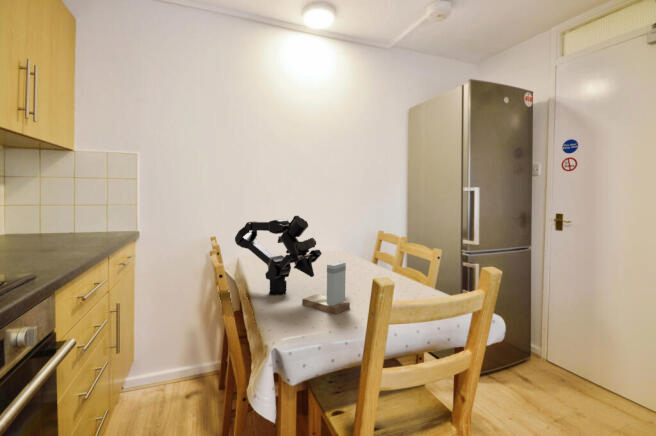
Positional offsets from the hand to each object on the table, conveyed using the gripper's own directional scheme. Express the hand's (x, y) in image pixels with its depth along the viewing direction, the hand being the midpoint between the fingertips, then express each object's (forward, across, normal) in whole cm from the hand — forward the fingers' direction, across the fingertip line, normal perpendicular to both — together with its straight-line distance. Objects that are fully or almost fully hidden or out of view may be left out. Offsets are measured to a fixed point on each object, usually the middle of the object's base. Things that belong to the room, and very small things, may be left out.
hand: (312, 276), depth 115 cm
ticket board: (+12, 0, +3) cm, 12 cm away
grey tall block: (+13, 0, -2) cm, 13 cm away
